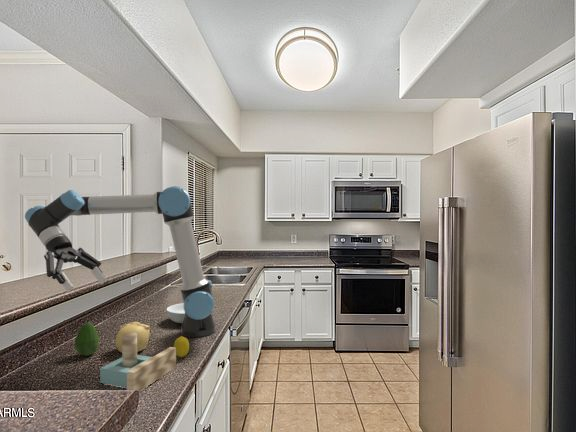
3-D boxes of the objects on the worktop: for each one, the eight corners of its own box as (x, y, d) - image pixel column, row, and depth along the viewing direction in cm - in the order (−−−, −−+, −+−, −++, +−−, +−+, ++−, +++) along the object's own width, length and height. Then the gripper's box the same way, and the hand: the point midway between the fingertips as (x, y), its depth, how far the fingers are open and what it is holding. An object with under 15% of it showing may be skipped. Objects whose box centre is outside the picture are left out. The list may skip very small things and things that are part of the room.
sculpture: (153, 344, 143) (153, 318, 143) (142, 356, 131) (141, 327, 131) (124, 345, 143) (124, 318, 143) (110, 357, 131) (110, 328, 131)
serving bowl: (199, 329, 162) (199, 314, 162) (157, 326, 166) (157, 311, 166) (217, 316, 182) (217, 303, 182) (180, 314, 187) (179, 301, 187)
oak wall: (170, 367, 122) (170, 346, 122) (176, 368, 121) (176, 347, 121) (126, 395, 103) (126, 371, 103) (133, 396, 102) (133, 372, 102)
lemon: (170, 358, 130) (170, 336, 130) (183, 353, 134) (183, 332, 134) (179, 362, 126) (179, 339, 126) (192, 357, 131) (192, 335, 131)
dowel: (129, 374, 117) (129, 332, 117) (140, 376, 115) (140, 333, 115) (119, 380, 113) (118, 336, 112) (130, 382, 111) (130, 338, 111)
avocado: (93, 349, 138) (93, 318, 138) (102, 354, 133) (102, 322, 133) (71, 355, 132) (71, 323, 132) (79, 361, 127) (79, 328, 127)
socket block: (128, 368, 122) (128, 353, 122) (158, 373, 118) (158, 358, 118) (100, 384, 110) (100, 368, 110) (131, 390, 106) (131, 373, 106)
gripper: (80, 245, 142) (110, 285, 137) (15, 252, 118) (48, 300, 113) (90, 232, 140) (121, 272, 135) (26, 236, 116) (61, 285, 112)
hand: (88, 285), depth 124 cm, fingers open, 13 cm apart
